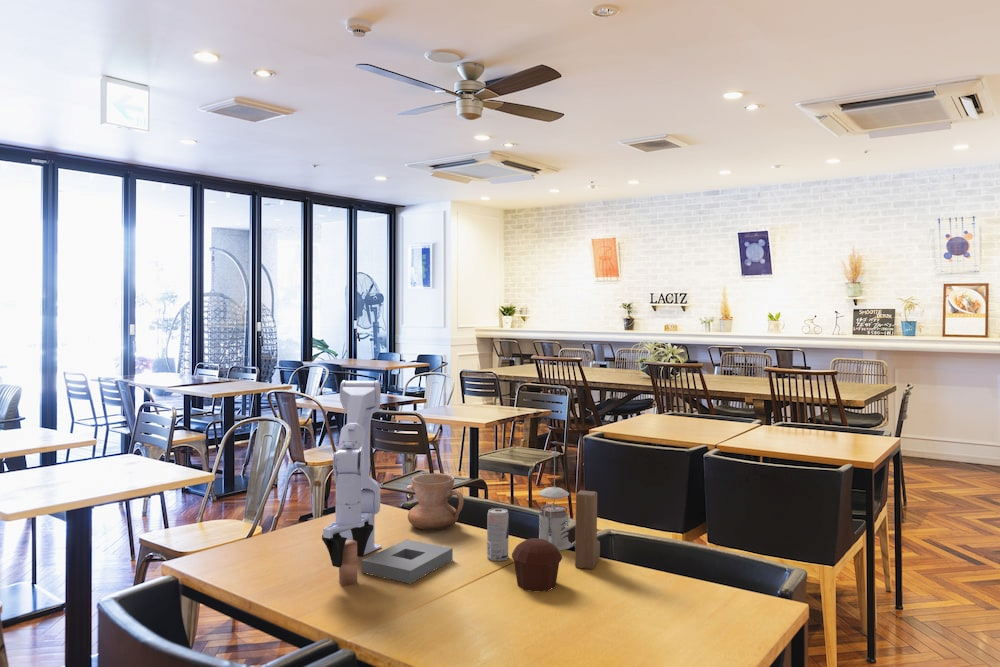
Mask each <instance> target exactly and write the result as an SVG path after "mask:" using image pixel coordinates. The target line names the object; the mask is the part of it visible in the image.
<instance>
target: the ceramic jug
mask: <svg viewBox="0 0 1000 667" xmlns="http://www.w3.org/2000/svg"><path fill="white" fill-rule="evenodd" d="M454 483H455V477H454V476H453V475H452V474H451V475H450V474H447V473H424V474H418V475H416V476H413V477H411V484H409V485H407V487H406V490H408V491H412V492H414V493H415V497H416V499H417V502H418V503H417V504H415V506H413V507H412V508H410V510H408V512H407V520H408V522H409V524H410V525H411V526H413V527H415V528H417V529H421V530H425V531H427V530H428V531H437V530H442V529H443V530H444V529H447V528H449V527H451V526H453V525H455V524H456V523H457V521H458V520H459V515H460V513H461V511H462V510H463V508H464V501H465V500H464V496H463V493H462V492H460V491H459V490H456V489H454V490H453V488H454ZM453 496H456V497H457V500H458V505H457V508H455V507H453V506H452V505H450V503H448V501H449V500H450V498H451V497H453Z"/></svg>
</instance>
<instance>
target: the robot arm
mask: <svg viewBox="0 0 1000 667" xmlns="http://www.w3.org/2000/svg"><path fill="white" fill-rule="evenodd" d="M339 401H340V404H341V406H342V408H343V411H344V412H346V413H347V414H346V424H344V425H343V426H342V428H341V429H340V432H339V433H340V434H339V440H338V446H337V451H334V453H333V457H332V470H333V482H334V483H335V520H334V521H333V522H332V523H330V524H329V525H328V526H326V527H323V529H322V530H323V532H322V536H321V540H322V542H323V543H324V545H325V546H326V549H327V551H328V554H329V558H330V561H331V562H330V563H331V565H332V567H334V568H339V567H341V566H342V560H343V550H344V545H345V542H346V540H354V541H357V558H363V557H364V556H366V555H367V554H368V555H369V553H372V552H374V551H376V550H378V549H380V548H381V549H382V547H383V546H382V545H381V544H378V543H377V544H376V543H375V536H376V535H375V531H376V530H375V526H376V525H375V524H376V523H375V521H376V520H375V516H376V515H378V514H379V512H380V511H381V490H380V489H381V486H380V483H379V481H376V480H375V479H374V478H372V477H371V475H370V466H371V465H370V464H371V421H372V417H373V414H374V413H377V412H379V411H380V408H381V383H380V381H379V379H376V380H345V379H343V380H342V381H341V382H340V386H339Z"/></svg>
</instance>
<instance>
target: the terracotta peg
mask: <svg viewBox="0 0 1000 667" xmlns="http://www.w3.org/2000/svg"><path fill="white" fill-rule="evenodd" d="M338 574H339V575H338V580H339V581H338V583H339V585H341V586H352V584H353V585H355V584H357V583H358V557H357V541H354V540H346V542H345V545H344V550H343V560H342V566H341V567H338ZM356 582H357V583H356Z"/></svg>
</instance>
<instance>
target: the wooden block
mask: <svg viewBox="0 0 1000 667" xmlns="http://www.w3.org/2000/svg"><path fill="white" fill-rule="evenodd" d="M597 531H598V492H597V491H592V490H591V491H590V490H581V489H580V490H579V491H578V492H577V493H576V494H575V533H574V534H575V538H574V539H575V542H574V544H575V546H574V548H575V550H574V552H575V553H574V556H575V557H574V566H575V568H577V569H579V568H580V569H586V570H593V569H594V568H595V567H596V564H597V563H598V561H599V560H600V557H601V541H600V540H598V532H597Z"/></svg>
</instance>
